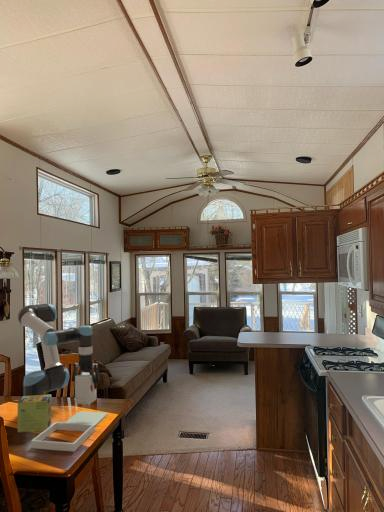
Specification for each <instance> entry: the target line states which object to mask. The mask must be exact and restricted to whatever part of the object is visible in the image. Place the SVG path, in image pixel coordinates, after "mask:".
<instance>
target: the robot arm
mask: <svg viewBox="0 0 384 512" xmlns="http://www.w3.org/2000/svg"><path fill="white" fill-rule="evenodd" d="M57 317H58V312H57V309H56V306H54V305H53V304H52V303H39V304H32V305H25V306H24V307H22V308H21V309H20V310H19V311H18V314H17V320H18V322H19V324H20V325H21V326H22V327H25V328H29V329H30V330H31V331H32V332H35V334H37V335H38V336H39V338H40V343H41V348H42V353H43V359H44V363H45V367H44V369H43V370H42V369H40V370H34V371H31V372H28V373H27V374H25V376H23V385H22V386H23V396H35V395H46V393H48V392H52V391H56V390H60V389H63V388H65V387H67V386H68V384H69V380H70V372H69V370H68V368H67V367H64V364H63V363H62V362H61V360H60V355H59V351H58V345H63V344H67V343H74V342H77V343H78V363H77V362H75V363H73V371H72V375H71V382H74V383H75V376H77V375H80V374H82V372H88V373H89V374H90V375H92V380H93V382H94V383H92V394H93V395H95V394H96V391H97V388H98V383H99V382H101V376H100V371H99V364H98V363H94V362H93V359H94V356H93V352H94V351H93V350H94V349H93V334H94V333H93V326H91V325H85V324H84V325H80V326H79V327H76V326H73V327H68V328H67V329H60V330H57V328H54V325H55V323H56V322H55V321H56V320H57ZM78 367H79V370H78ZM77 372H78V373H77ZM94 373H95V374H94Z"/></svg>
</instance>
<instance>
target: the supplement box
mask: <svg viewBox="0 0 384 512" xmlns="http://www.w3.org/2000/svg"><path fill="white" fill-rule="evenodd" d="M94 374H95V372H94ZM92 383H94V382H93V380H92V375H90V374H89V372H88V371H83V372H82V374H80V375H77V374H76V376H75V382H74V404H81V405H91V404H92V403H93V402H95V401H96V400H97V392H98V391H97V390H96V394H95V395H93V394H92Z"/></svg>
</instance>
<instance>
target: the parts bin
mask: <svg viewBox="0 0 384 512" xmlns="http://www.w3.org/2000/svg"><path fill="white" fill-rule="evenodd" d="M95 428H96V427H95V425H94V424H79V423H65V422H61V421H55V422H54V423H53V424H52V423H51V425H50V427H48V428H47V429H46V430H42V432H41V433H40V434H38V435H37V436H35V437H34V438H32V440H30V444H31V445H30V448H31V449H35V450H36V449H37V450H38V449H39V450H50V451H60V452H61V451H62V452H73V453H74V452H76V450H78V449H79V447H80V446H82V444H83V443H84V442H86V440H88V438H90V437H91V436H92V435H93V434H94V432H95ZM56 431H72V432H82V434H81V435H80V436H79V437H77V439H76V440H75V441H74V442H66V441H52V440H45V439H47V438H48V437H49V436H51V433H52V434H53V433H54V432H56ZM46 437H47V438H46ZM42 440H43V441H42Z"/></svg>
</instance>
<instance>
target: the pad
mask: <svg viewBox="0 0 384 512" xmlns="http://www.w3.org/2000/svg"><path fill="white" fill-rule="evenodd" d="M108 415H109V414H108V412H97V411H96V412H94V411H82V410H80V411H77V412H76V413H74V414H73V415H72V416H70V417H69V419H67V420H65V422H64V423H79V424H94V425H95V428H96V427H97V426H98V425H99V424H100V423H101V422H102V421H103V420H105V418H106V417H107V416H108Z"/></svg>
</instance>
